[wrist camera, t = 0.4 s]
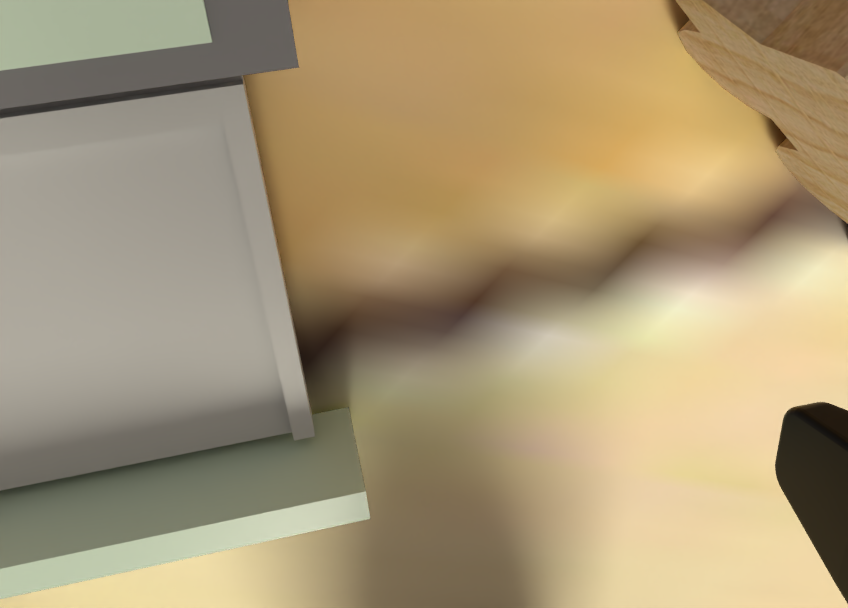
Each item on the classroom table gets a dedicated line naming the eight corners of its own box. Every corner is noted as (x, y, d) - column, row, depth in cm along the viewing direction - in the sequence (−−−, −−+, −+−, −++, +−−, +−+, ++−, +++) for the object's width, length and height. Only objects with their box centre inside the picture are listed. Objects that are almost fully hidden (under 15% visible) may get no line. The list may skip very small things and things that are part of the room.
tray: (352, 432, 25) (370, 518, 21) (-119, 527, 23) (-177, 637, 20) (270, -47, 18) (277, -27, 15) (-413, 35, 16) (-579, 79, 13)
